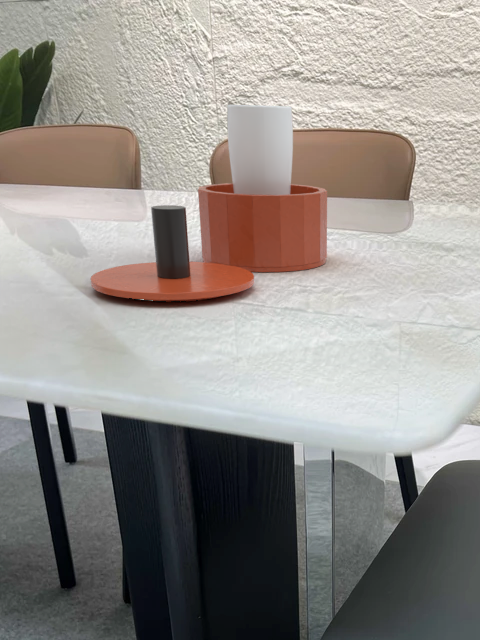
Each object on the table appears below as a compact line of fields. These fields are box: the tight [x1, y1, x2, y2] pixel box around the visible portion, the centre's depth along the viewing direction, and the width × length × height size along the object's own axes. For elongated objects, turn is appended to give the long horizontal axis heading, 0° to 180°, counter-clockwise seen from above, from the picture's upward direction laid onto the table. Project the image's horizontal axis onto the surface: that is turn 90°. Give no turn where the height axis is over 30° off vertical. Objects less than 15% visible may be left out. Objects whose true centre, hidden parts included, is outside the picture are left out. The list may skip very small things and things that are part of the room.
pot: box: [197, 182, 328, 273], centre depth 84 cm, size 14×14×8 cm
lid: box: [90, 204, 255, 303], centre depth 70 cm, size 15×15×7 cm
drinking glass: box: [226, 104, 294, 195], centre depth 82 cm, size 7×7×15 cm
